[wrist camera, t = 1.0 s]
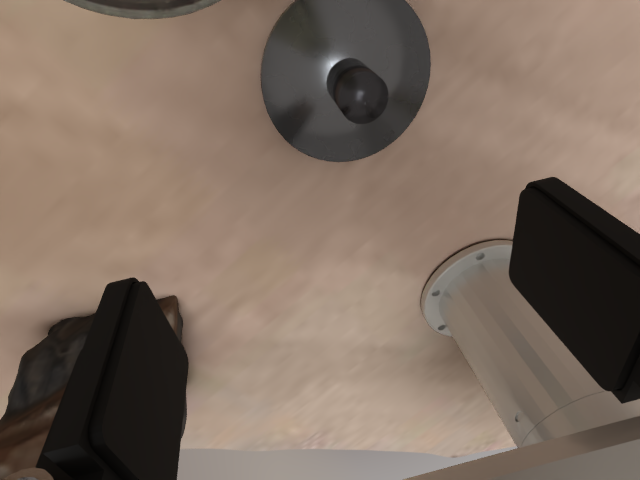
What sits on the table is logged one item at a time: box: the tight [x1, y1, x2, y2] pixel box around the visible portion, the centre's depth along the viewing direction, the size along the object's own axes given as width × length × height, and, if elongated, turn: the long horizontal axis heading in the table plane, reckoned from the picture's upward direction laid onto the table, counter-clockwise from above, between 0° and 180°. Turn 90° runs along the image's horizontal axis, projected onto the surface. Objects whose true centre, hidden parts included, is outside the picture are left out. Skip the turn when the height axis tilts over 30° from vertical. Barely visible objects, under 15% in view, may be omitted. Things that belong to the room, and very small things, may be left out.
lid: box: [261, 0, 431, 162], centre depth 26 cm, size 12×12×5 cm
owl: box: [0, 296, 187, 480], centre depth 30 cm, size 13×13×20 cm
